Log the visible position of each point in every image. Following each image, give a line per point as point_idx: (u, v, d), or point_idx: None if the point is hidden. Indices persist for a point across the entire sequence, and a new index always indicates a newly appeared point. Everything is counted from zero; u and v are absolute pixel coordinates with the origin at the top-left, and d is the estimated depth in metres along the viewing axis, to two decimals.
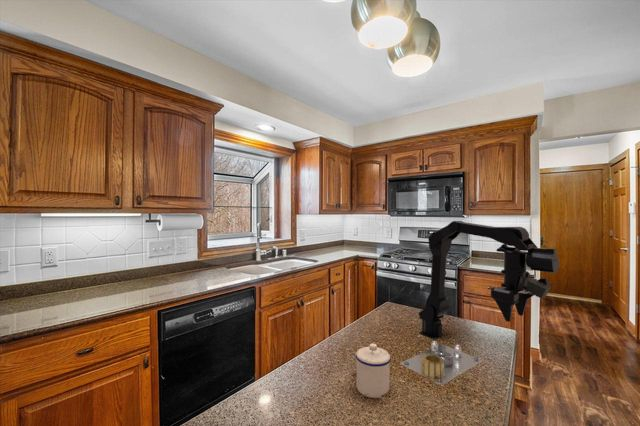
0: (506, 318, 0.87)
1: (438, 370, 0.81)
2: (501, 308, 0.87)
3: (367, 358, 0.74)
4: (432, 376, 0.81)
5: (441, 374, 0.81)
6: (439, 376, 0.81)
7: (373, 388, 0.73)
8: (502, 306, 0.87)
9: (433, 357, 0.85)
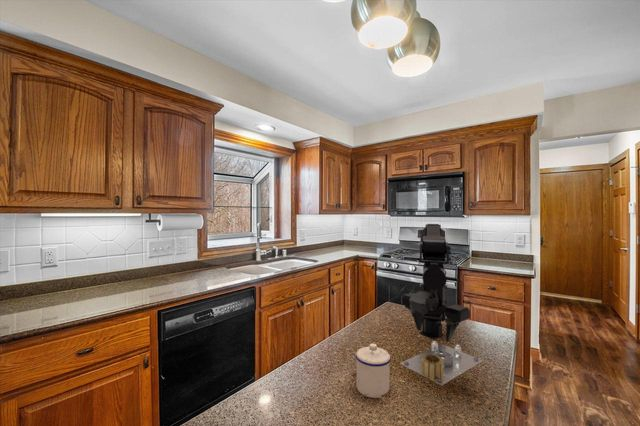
0: None
1: (438, 370, 0.81)
2: None
3: (367, 358, 0.74)
4: (432, 376, 0.81)
5: (441, 374, 0.81)
6: (439, 376, 0.81)
7: (373, 388, 0.73)
8: None
9: (433, 357, 0.85)
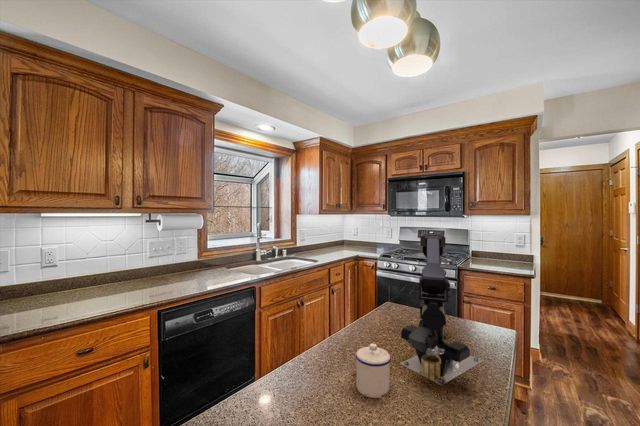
0: None
1: (438, 370, 0.81)
2: None
3: (367, 358, 0.74)
4: (432, 376, 0.81)
5: None
6: (439, 376, 0.81)
7: (373, 388, 0.73)
8: None
9: (433, 357, 0.85)
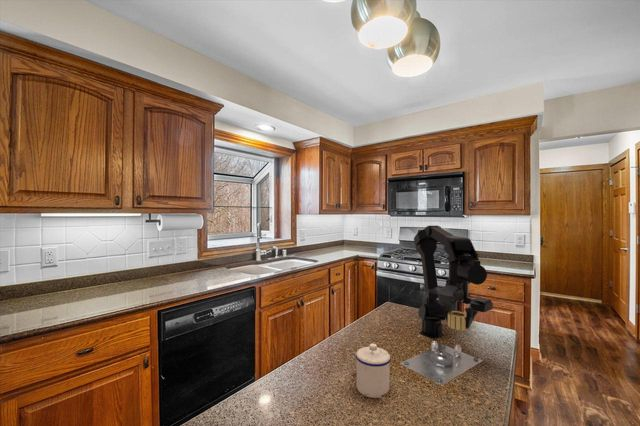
0: None
1: (463, 322, 0.91)
2: None
3: (367, 358, 0.74)
4: (458, 328, 0.91)
5: None
6: (464, 328, 0.91)
7: (373, 388, 0.73)
8: None
9: (458, 313, 0.95)
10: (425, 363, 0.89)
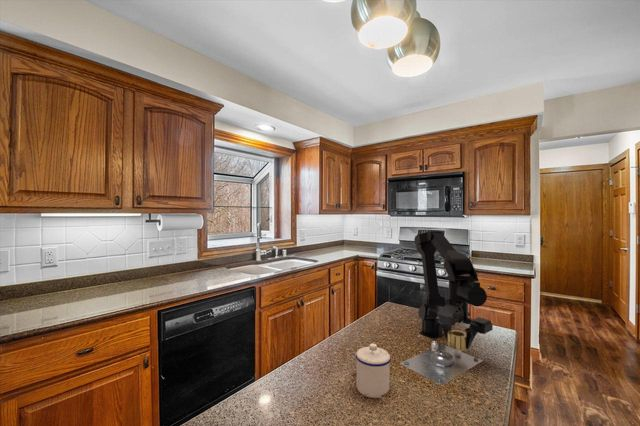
0: None
1: (463, 343, 0.91)
2: None
3: (367, 358, 0.74)
4: (458, 348, 0.91)
5: None
6: (464, 348, 0.91)
7: (373, 388, 0.73)
8: None
9: (458, 332, 0.95)
10: (425, 363, 0.89)
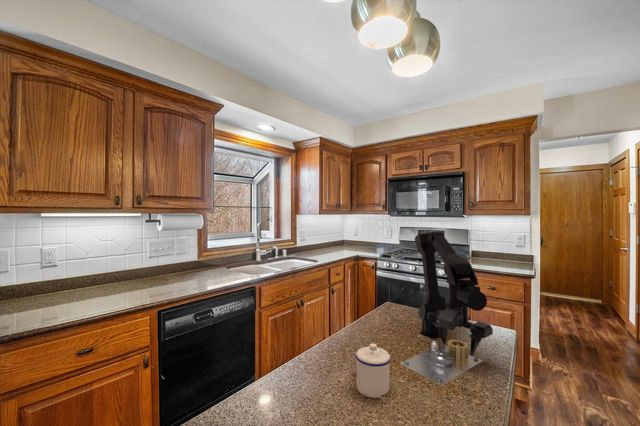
0: None
1: (463, 353, 0.91)
2: None
3: (367, 358, 0.74)
4: (458, 359, 0.91)
5: (466, 357, 0.91)
6: (464, 359, 0.91)
7: (373, 388, 0.73)
8: None
9: (458, 342, 0.95)
10: (425, 363, 0.89)
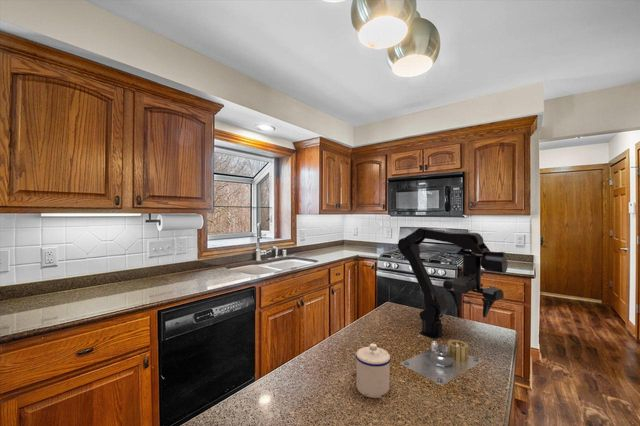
0: None
1: (463, 353, 0.91)
2: None
3: (367, 358, 0.74)
4: (458, 359, 0.91)
5: (466, 357, 0.91)
6: (464, 359, 0.91)
7: (373, 388, 0.73)
8: None
9: (458, 342, 0.95)
10: (425, 363, 0.89)
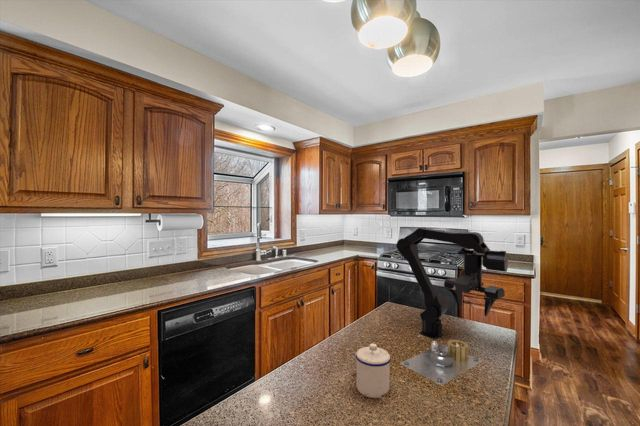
0: None
1: (463, 353, 0.91)
2: None
3: (367, 358, 0.74)
4: (458, 359, 0.91)
5: (466, 357, 0.91)
6: (464, 359, 0.91)
7: (373, 388, 0.73)
8: None
9: (458, 342, 0.95)
10: (425, 363, 0.89)
